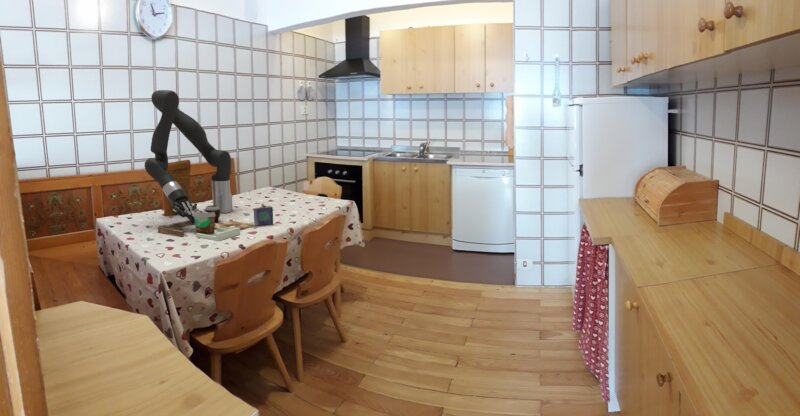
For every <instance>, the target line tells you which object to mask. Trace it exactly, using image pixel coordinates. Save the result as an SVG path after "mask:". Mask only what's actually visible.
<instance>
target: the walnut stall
mask: <svg viewBox="0 0 800 416" xmlns="http://www.w3.org/2000/svg"><path fill="white" fill-rule="evenodd" d="M216 225H217V224H216V223H215V222H214V226H216ZM188 226H195V223H194V224H192V223H191V222H190V220H189V219H188V220H185V221H184V220H183V221H179V222H175V223H173V224H172V223H171V224H168V225H167V224H166V225H163V226H159V227H157V233H160V234H164V235H170V236H174V237H175V236H176V237H182V238H183V237H185V231H184V230H178V229H180V228H184V227H188Z"/></svg>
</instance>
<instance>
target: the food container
mask: <svg viewBox="0 0 800 416" xmlns="http://www.w3.org/2000/svg"><path fill="white" fill-rule="evenodd" d="M192 216H193V217H194V220H195V225H194V226H195V231H196V232H195V234H196V233H200V234H206V235H211V234H215V229H214V223H215V222H214V221H215V212H207V211H205V210H203V211H202V210H199V208H197V209H195V210H193V214H192Z"/></svg>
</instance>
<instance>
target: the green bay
mask: <svg viewBox="0 0 800 416" xmlns="http://www.w3.org/2000/svg"><path fill="white" fill-rule="evenodd" d="M216 232H217V233H215V235H211V234H200V233H196V232H195V237H197V238H199V239H200V238H201V239H204V240H211V241H216V242H219V241H223V240H226V239H229V238H232V237H235V236H236V237H237V236H239V235H241V230H240V228H235V229H231V230H230V229H225V228H219V227H218V228H217V230H216Z"/></svg>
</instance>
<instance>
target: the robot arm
mask: <svg viewBox="0 0 800 416" xmlns="http://www.w3.org/2000/svg"><path fill="white" fill-rule="evenodd" d="M150 97H151V98H150V99H151V102H152V104H153V106H154V107H155V108H156V109H157V110H158V111H159V112H160V113H161V115H160V119H159V121H158V124H157V125H156V127H155V129H154V131H153V133H152V138H151V142H150V152H151V153H153V154H154V157H155V158H152V157H150V158H148V159H146V160H145V162H144V169H145V171H146V173H147V174H148V175H149V176H150V177H151V178H153V180H154V181H156V182H157V183H158V185H159V186H160V188H161V190H162V189H163V191H164V193H165V195H166V196H167V198H168V199H169V200H170V202H171V203H172V205H174V207H175V208H174V209H173V210H172V212H174V213H176V214H177V215H178V216H180V217H181V218H187V219H188V220H190V222H191V223H192V224H194V223H195V220H194V217H193V216H192V214H193V210H195V209H198V203H197V202H195V203H193V202H192V201H191V200H188V197H187V195H186V193H185V192H184V191H183V189H182V188H181V186H180V185H179V184H178V183H177V182H176V180H175V179H174V177H173V176H172V175H171V174H170V173H167V172H166V171H167V169H168V163H169V160H168V159H169V158H168V145H169V141H170V134H171V130H172V127H173V125H174V126H175V127H176V129H178V131H179V132H181V134H182V135H183V136H184V137H185V138H186V139H187V141H188V142H190V143H191V144H192V145H193V146H194V147H195V149H197V151H198V152H199V153H200V154H201V155H202V157H203V158H204V160H205V161H206V162H207V163H208V164H209V165H210V166H211V167H214V168H216V172H215V173H214V174H212V175H211V194H212V205H216V202H217V199H218V196H219V195H220V194H221V193H222V192H223V193H222V194H221V195H220V197H219V199H218V203H217V206H218V207H219V208H220V214H226V213H231V212H233V210H234V209H233V208H234V207H233V194H232V193H231V179H230V178H231V175H232V157H231V153H229V151H227V150H224V149H223V150H222V149H216V148H215V147H214V146H213V145H212V144H211V143H210V142H209V140H208V137H207V133H206V131H205V129H204V128H203V127H202V125H201V124H199V122H198V121H197V120H196V119H194V118H193V117H191V116H190V115H188V114H187V113H186V112H184V111H182V110H181V109H180V108H179V104H180V98H179V96H178V93H177V92H175V91H174V90H169V89H159V90H155V91H154V92H152V94H151V96H150ZM181 213H182V214H181Z"/></svg>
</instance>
